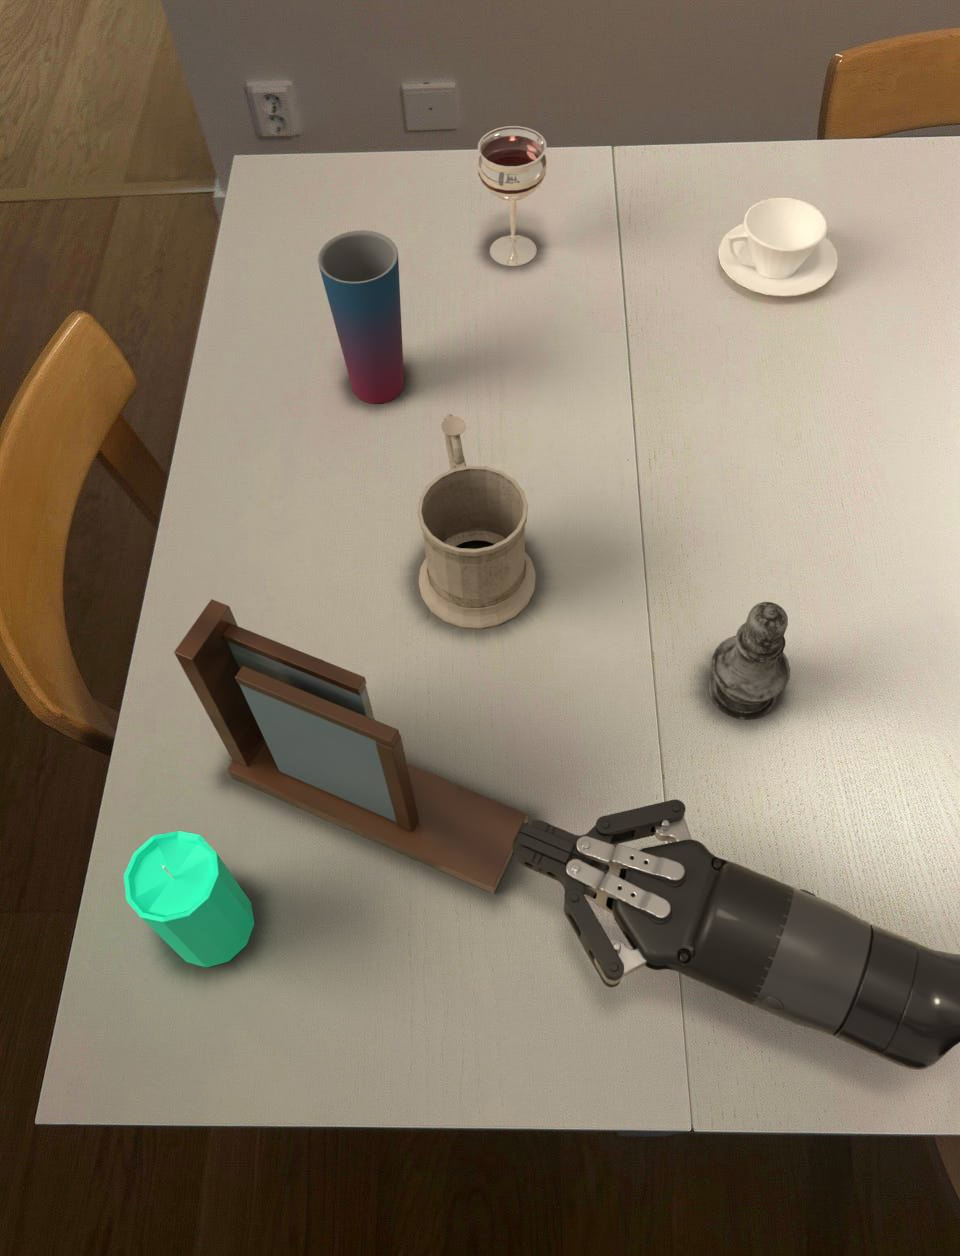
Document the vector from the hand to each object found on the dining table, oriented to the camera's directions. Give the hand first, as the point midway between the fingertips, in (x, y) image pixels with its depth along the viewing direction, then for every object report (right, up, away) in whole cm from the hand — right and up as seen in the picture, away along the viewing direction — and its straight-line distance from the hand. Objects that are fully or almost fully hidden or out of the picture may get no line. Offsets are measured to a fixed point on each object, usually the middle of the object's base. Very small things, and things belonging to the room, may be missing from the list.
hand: (517, 836), depth 69 cm
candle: (-21, -7, +6) cm, 23 cm away
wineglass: (+1, +53, +43) cm, 69 cm away
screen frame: (-10, +1, +10) cm, 15 cm away
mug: (-3, +19, +22) cm, 30 cm away
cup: (-12, +37, +33) cm, 51 cm away
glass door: (-12, +1, +9) cm, 15 cm away
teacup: (+28, +51, +40) cm, 71 cm away
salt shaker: (+18, +9, +14) cm, 25 cm away
